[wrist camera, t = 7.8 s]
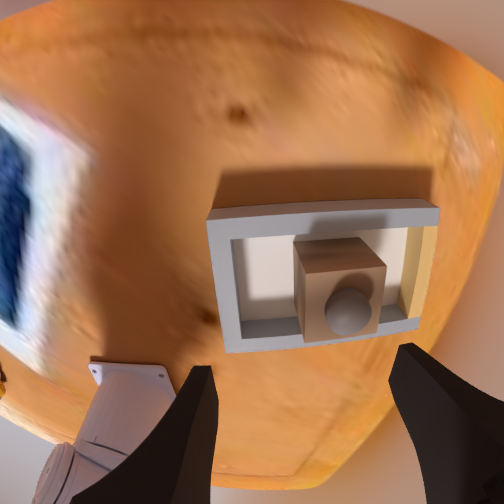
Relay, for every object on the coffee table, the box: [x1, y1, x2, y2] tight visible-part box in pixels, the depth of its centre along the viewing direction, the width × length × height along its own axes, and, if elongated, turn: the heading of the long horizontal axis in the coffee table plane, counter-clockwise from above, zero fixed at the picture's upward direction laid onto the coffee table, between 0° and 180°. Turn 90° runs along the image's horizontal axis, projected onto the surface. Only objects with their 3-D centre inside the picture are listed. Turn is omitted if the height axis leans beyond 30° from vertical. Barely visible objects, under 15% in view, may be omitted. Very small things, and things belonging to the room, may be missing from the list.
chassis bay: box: [206, 198, 440, 353], centre depth 19 cm, size 9×14×2 cm, turn 94°
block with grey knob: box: [293, 237, 387, 343], centre depth 17 cm, size 4×4×6 cm
